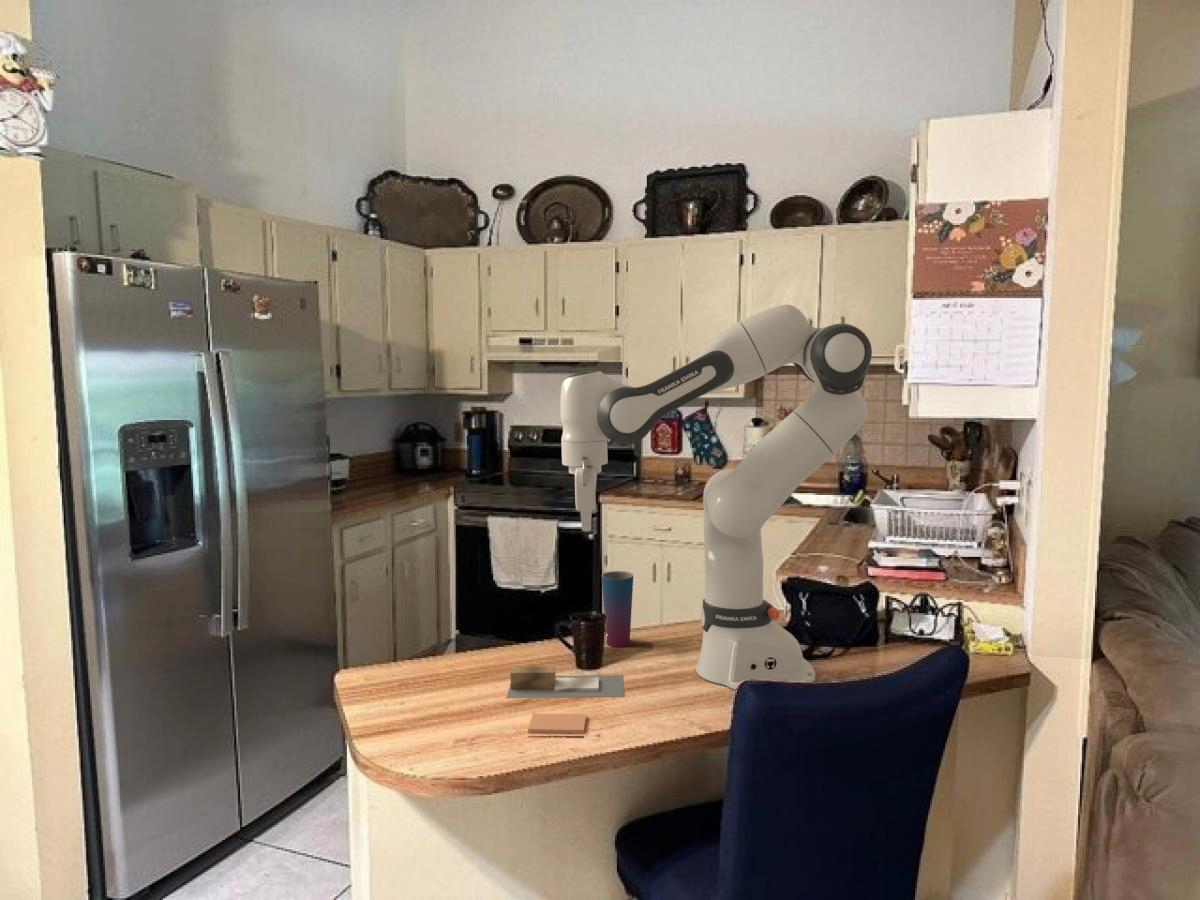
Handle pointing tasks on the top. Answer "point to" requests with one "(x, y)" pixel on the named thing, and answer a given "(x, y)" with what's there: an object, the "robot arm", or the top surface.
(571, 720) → the tile
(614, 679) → the rest mat
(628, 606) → the cup
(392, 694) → the top surface
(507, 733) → the top surface
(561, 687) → the turner
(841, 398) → the robot arm
